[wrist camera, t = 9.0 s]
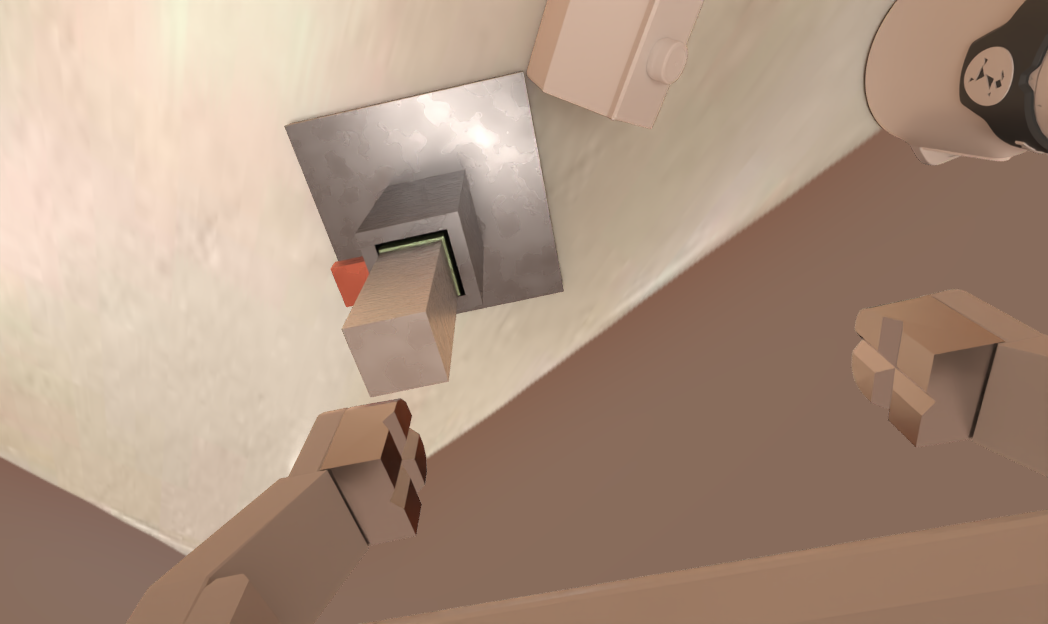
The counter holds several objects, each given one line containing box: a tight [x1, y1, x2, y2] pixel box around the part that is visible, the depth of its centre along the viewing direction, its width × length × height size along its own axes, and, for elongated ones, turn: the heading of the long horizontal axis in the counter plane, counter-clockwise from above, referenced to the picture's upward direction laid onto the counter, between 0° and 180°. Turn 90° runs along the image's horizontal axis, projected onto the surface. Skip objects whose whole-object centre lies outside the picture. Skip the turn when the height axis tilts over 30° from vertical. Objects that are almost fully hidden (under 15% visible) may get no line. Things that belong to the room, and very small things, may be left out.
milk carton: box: [526, 0, 704, 129], centre depth 34 cm, size 7×7×19 cm
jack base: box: [285, 71, 564, 314], centre depth 42 cm, size 20×20×14 cm
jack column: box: [342, 229, 461, 397], centre depth 34 cm, size 4×4×18 cm
